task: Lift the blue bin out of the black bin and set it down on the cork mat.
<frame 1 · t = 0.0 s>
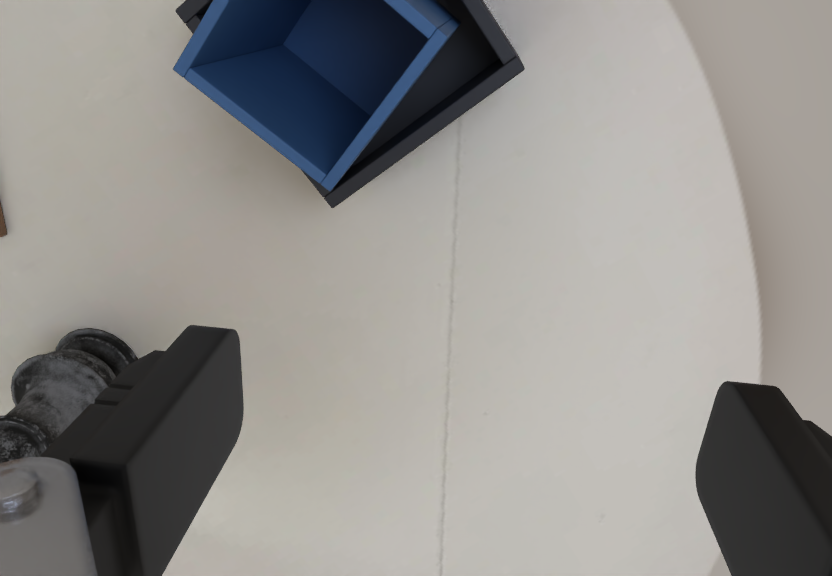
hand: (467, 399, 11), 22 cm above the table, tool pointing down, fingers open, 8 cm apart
dark grey tall piece: (100, 366, 39), on the table
black bin: (368, 33, 29), on the table
blue bin: (365, 33, 29), point 1 cm above the table, touching black bin
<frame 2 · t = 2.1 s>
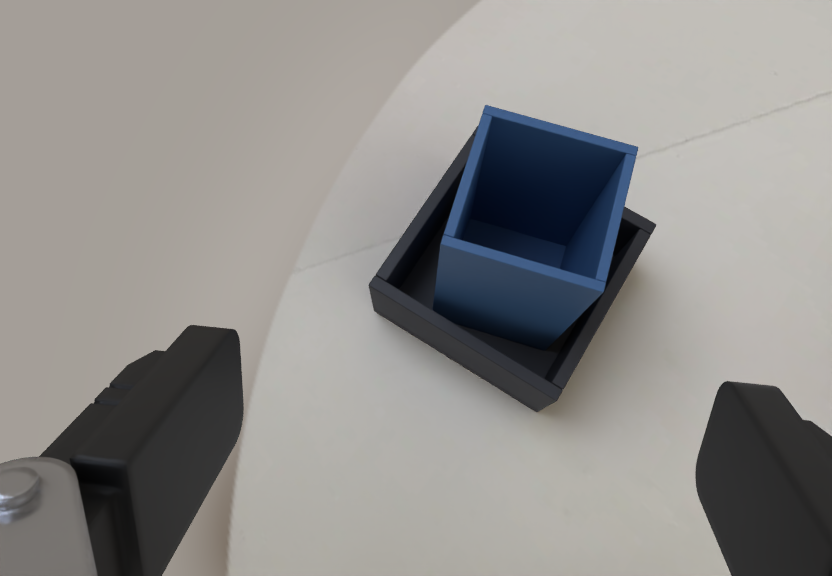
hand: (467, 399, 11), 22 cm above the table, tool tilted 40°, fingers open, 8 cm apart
black bin: (501, 283, 35), on the table
blue bin: (503, 280, 34), point 1 cm above the table, touching black bin
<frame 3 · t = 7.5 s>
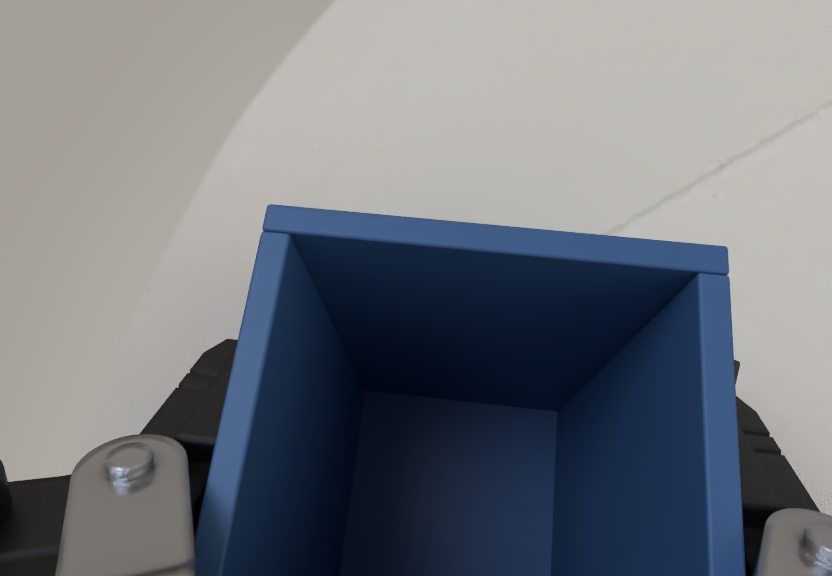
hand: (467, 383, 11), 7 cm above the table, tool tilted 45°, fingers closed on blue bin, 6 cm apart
blue bin: (450, 501, 17), point 1 cm above the table, touching black bin, gripper
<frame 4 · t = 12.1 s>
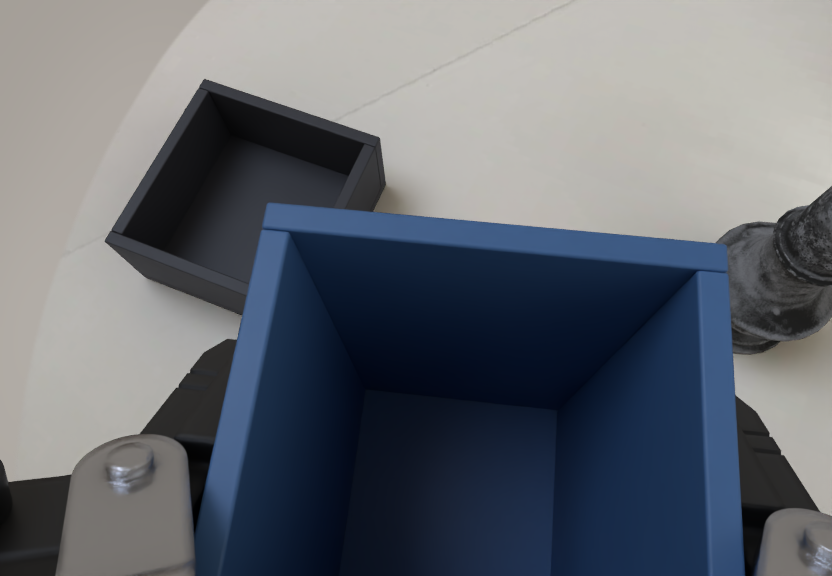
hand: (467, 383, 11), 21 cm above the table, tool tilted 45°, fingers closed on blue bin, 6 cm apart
dark grey tall piece: (736, 305, 34), on the table
black bin: (268, 229, 35), on the table
blue bin: (450, 500, 17), point 14 cm above the table, touching gripper
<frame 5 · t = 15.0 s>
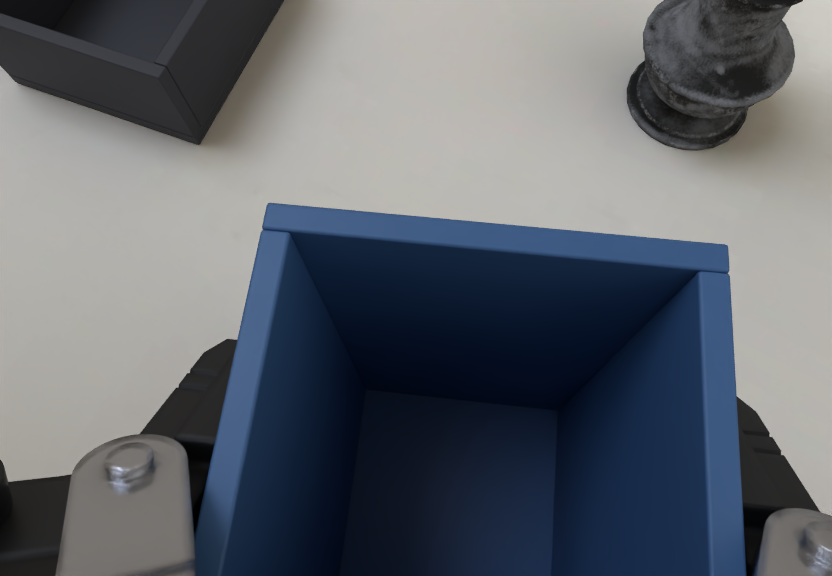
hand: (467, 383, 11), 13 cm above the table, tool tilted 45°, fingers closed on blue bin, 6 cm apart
dark grey tall piece: (684, 102, 29), on the table
black bin: (157, 32, 31), on the table
blue bin: (451, 501, 17), point 7 cm above the table, touching gripper
when the fingers open (7 cm above the table, at t = 17.2 s): blue bin stays where it is, resting on cork mat.
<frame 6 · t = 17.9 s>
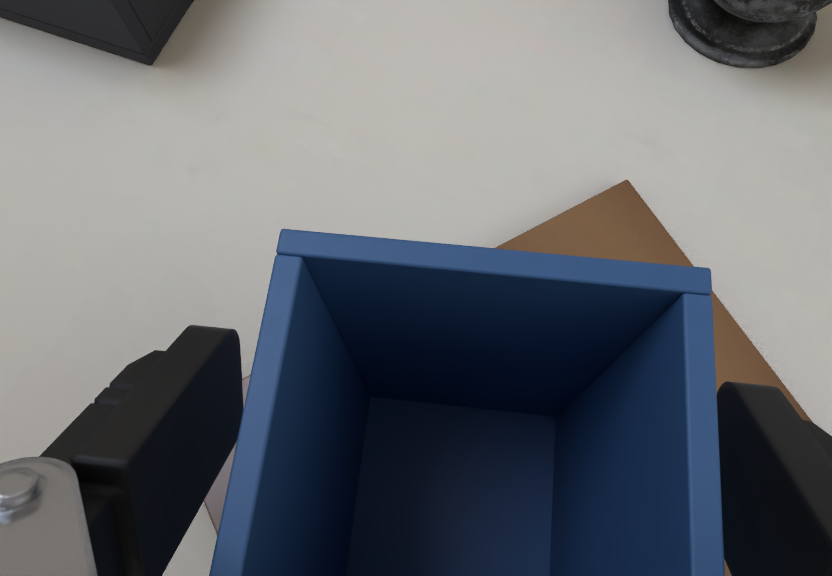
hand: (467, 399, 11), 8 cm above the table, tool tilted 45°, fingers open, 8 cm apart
dark grey tall piece: (738, 13, 24), on the table
cork mat: (550, 534, 18), on the table
blue bin: (453, 504, 18), resting on cork mat
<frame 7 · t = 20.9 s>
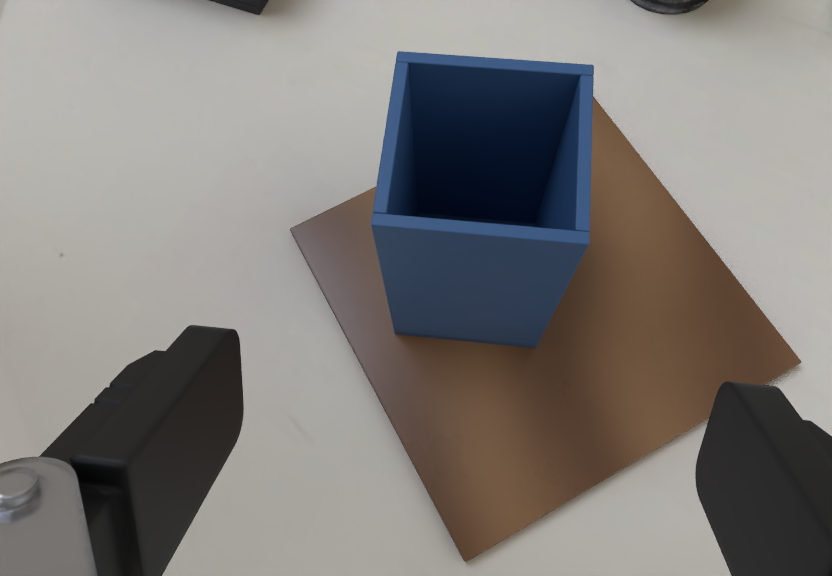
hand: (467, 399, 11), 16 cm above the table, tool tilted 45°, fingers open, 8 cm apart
cork mat: (531, 295, 29), on the table
blue bin: (470, 276, 29), resting on cork mat
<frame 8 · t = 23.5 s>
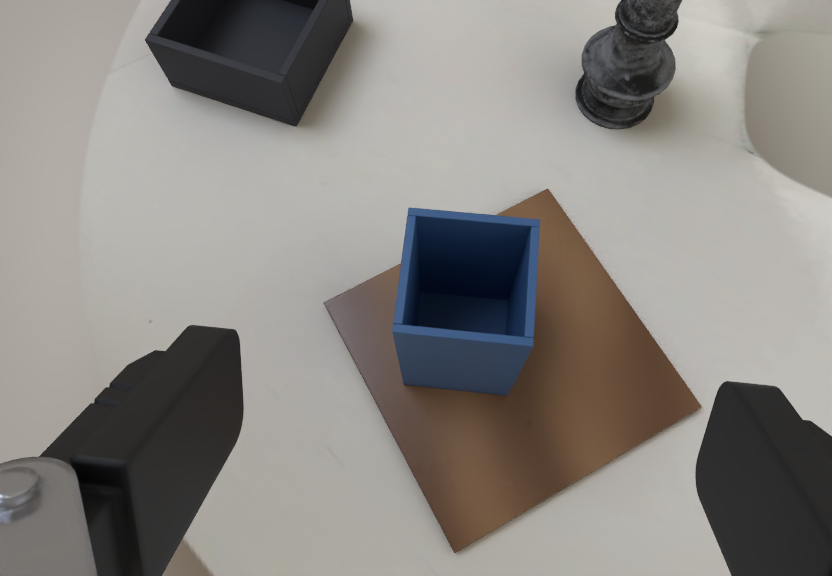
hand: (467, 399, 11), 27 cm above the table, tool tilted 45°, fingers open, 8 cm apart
dark grey tall piece: (613, 98, 45), on the table
black bin: (263, 52, 47), on the table
cork mat: (505, 354, 39), on the table
blue bin: (459, 340, 38), resting on cork mat
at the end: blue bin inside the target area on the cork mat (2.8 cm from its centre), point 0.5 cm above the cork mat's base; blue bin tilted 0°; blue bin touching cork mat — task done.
